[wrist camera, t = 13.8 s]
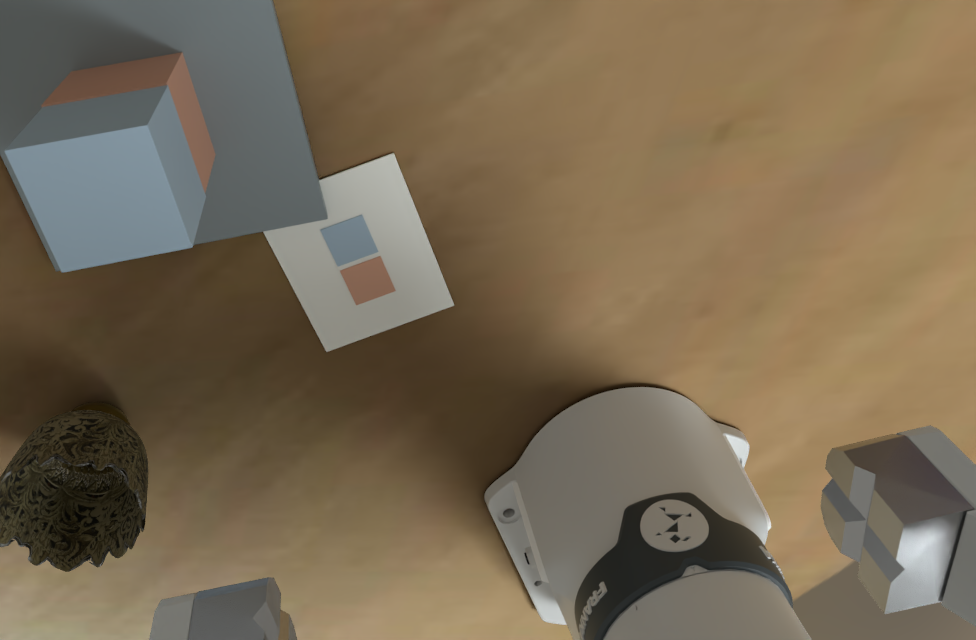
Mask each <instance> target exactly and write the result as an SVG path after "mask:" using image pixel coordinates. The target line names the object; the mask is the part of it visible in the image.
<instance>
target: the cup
mask: <svg viewBox="0 0 976 640" xmlns="http://www.w3.org/2000/svg"><path fill="white" fill-rule="evenodd" d="M147 488H148V460H147V454H146V450H145V447H144V445H143V442H142V440H141V439H140V437H139V435H138V434H137V433H136V431H135V430H134V429H133V428H132V427H131V426H130V423H129V421H128V419H127V417H126V415H125V414H124V413H123V412H122V411H121V410H120V409H118V408H117V407H115V406H113V405H110V404H107V403H103V402H90V403H85V404H82V405H80V406H78V407H76V408H75V409H73V410H72V411H71V412H67V413H63V414H60V415H58V416H55V417H53V418H51V419H50V420H48V421H46V422H45V423H43V424H42V425H41V426H39V427H38V428H37V429H36V430H35V431H34V432H33V433H32V434H31V435H30V436H29V437H28V438H27V440H26V441H25V442H24V443H23V445H22V446H21V447H20V449H19V450H18V452H17V453H16V454H15V456H14V457H13V459H12V460H11V462H10V463H9V465H8V466H7V468H6V469H5V471H4V472H3V474H2V475H1V477H0V547H4V546H9V544H11V542H13V541H15V540H16V541H17V542H18V545H19V546H20V547H23V545H24V546H26V547H28V548H29V550H30V555H29V557H28V560H29V561H30V562H31V563H32V564H33V565H36V566H37V565H40V564H42V563H43V562H45V561H46V560H48V561H49V562H50V564H51V565H52V566H54V567H56V568H58V569H60V570H63V571H65V572H69V571H71V570H73V569H75V568H77V567H78V566H80V565H82V564H83V563H84V562H85V561H88V560H89V561H90V558H91V561H92V562H93V563H91V562H89V563H91V564H92V565H94V566H96V567H100V566H101V565H102V564H103V562H104V560H105V557H106V555H107V553H108V552H109V551H110V553H111V555H112V556H114V557H115V558H120V557H122V556H123V555H124V554H125V553H126V551H127V548H128V547H129V548H130V549H132V548H133V546H134V544H135V541H136V539H137V537H138V535H139V533H140V528H141V530H142V532H143V530H144V526H145V516H146V502H147ZM11 539H15V540H11Z"/></svg>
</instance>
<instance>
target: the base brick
mask: <svg viewBox="0 0 976 640" xmlns="http://www.w3.org/2000/svg"><path fill="white" fill-rule="evenodd" d="M165 85H168V87H169V90H170V93H171V96H172V98H173V101H174V104H175V107H176V110H177V113H178V116H179V119H180V122H181V125H182V128H183V131H184V134H185V136H186V139H187V142H188V145H189V148H190V151H191V154H192V157H193V160H194V163H195V166H196V169H197V172H198V174H199V177H200V180H201V183H202V186H203V189H204V192H206V188H207V185H208V181H209V177H210V174H211V170H212V166H213V163H214V159H215V155H216V154H215V151H214V148H213V145H212V142H211V139H210V136H209V133H208V129H207V126H206V123H205V120H204V117H203V114H202V111H201V108H200V105H199V102H198V99H197V96H196V93H195V90H194V86H193V83H192V80H191V77H190V74H189V71H188V68H187V65H186V62H185V59H184V56H183V53H182V52H181V53H175V54H169V55H163V56H157V57H152V58H146V59H140V60H134V61H129V62H123V63H117V64H111V65H106V66H100V67H94V68H88V69H83V70H77V71H71V72H70V73H69V74H68V76H67V77H66V78H65V79H64V80H63V81H62V82H61V83H60V85H59V86H58V87H57V88H56V89H55V90H54V91H53V92H52V94H51V95H50V96H49V97H48V98H47V99H46V100H45V101H44V103H43V104H42V105H41V107H46V106H52V105H57V104H63V103H69V102H74V101H80V100H86V99H91V98H97V97H103V96H108V95H114V94H120V93H125V92H131V91H137V90H142V89H148V88H154V87H159V86H165Z"/></svg>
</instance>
